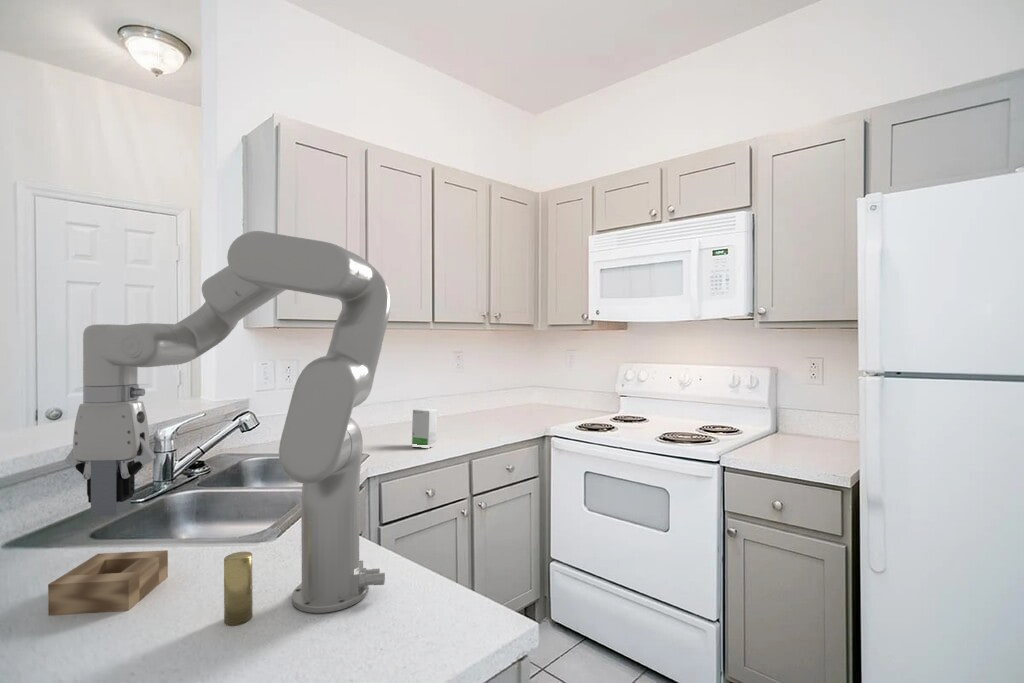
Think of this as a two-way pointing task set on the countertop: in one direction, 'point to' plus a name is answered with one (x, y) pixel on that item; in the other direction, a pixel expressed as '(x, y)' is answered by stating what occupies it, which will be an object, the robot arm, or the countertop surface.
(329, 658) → the countertop surface
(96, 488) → the square bit
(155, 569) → the bore block
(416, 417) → the skincare box
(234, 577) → the round bit
